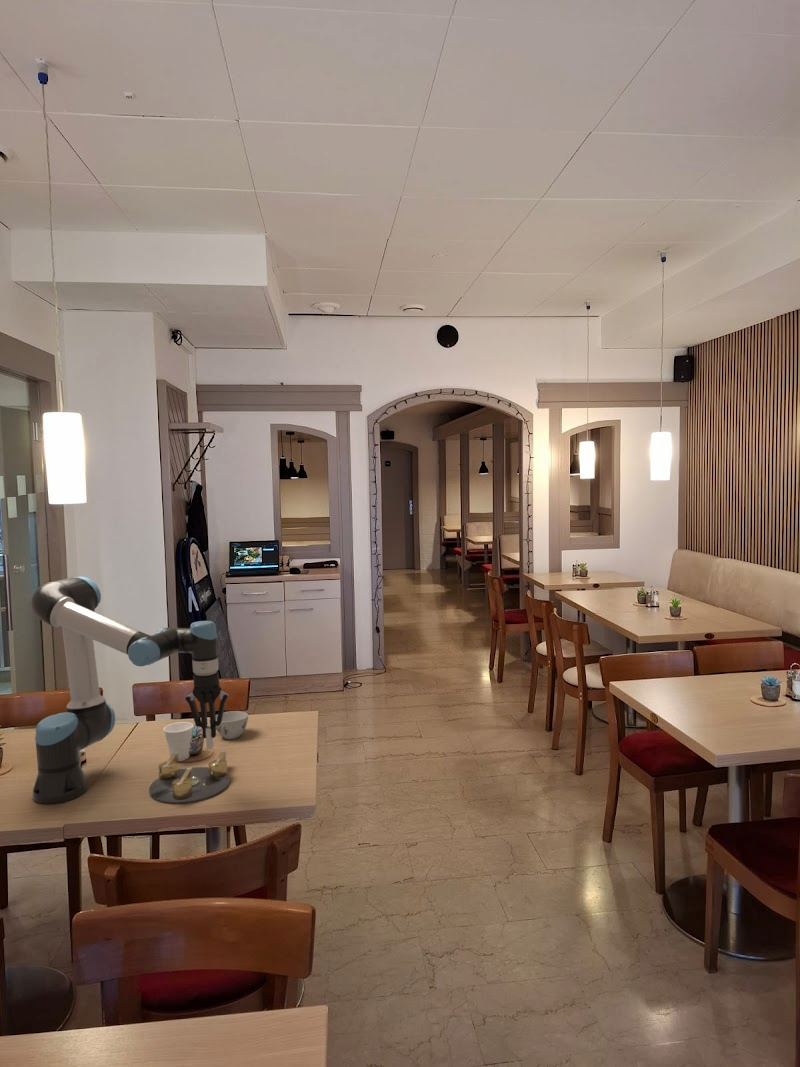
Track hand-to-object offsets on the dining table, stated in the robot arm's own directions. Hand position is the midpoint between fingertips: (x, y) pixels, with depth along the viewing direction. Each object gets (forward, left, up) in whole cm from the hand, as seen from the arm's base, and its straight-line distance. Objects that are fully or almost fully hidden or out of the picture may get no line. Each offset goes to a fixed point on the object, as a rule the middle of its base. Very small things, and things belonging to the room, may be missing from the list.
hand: (210, 747), depth 217 cm
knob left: (-15, +11, -12) cm, 22 cm away
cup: (-16, +26, -13) cm, 33 cm away
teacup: (-3, +45, -13) cm, 47 cm away
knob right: (+1, +11, -12) cm, 16 cm away
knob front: (-7, -3, -12) cm, 14 cm away
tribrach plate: (-7, +3, -13) cm, 15 cm away
